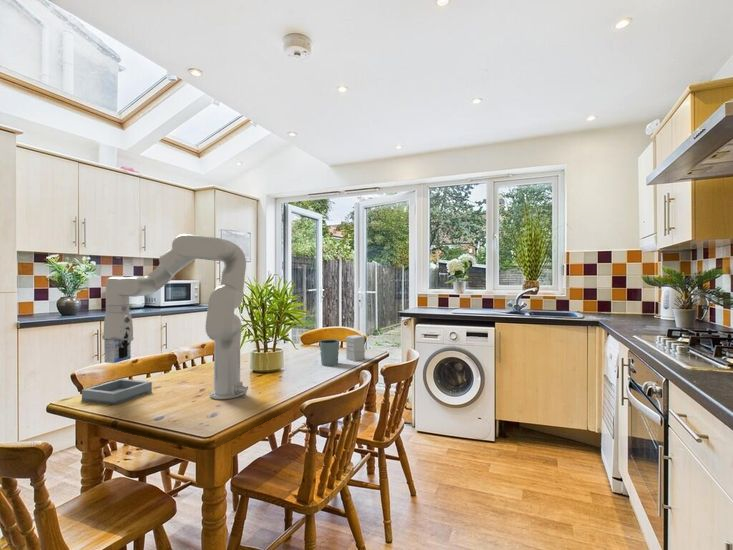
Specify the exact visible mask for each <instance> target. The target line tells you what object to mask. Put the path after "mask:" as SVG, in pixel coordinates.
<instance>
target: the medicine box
mask: <svg viewBox="0 0 733 550" xmlns="http://www.w3.org/2000/svg"><path fill="white" fill-rule="evenodd" d="M103 341H104V345H103V346H104V363H107V364H108V363H109V364H116V363H121V362H123V361H127V360H131V358H132V353H131V352H132V350H131V349H132V347H131V344H132V341H131V342H130V344H129V346H128V356H127V357H124V358H119V348H121V347H120V343H119V340H118V339H108V340H104V339H103ZM123 343H124V341H123Z"/></svg>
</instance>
